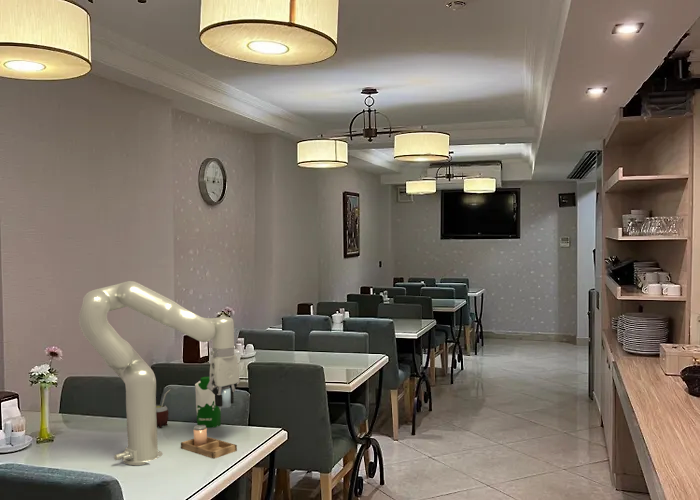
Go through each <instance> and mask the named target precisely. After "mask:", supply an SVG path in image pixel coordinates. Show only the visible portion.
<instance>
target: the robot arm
mask: <svg viewBox="0 0 700 500" xmlns="http://www.w3.org/2000/svg"><path fill="white" fill-rule="evenodd" d="M126 307H128V308H129V309H132V310H134V311H135V312H137V313H140V314H141V315H144V316H145V317H148V318H149V319H152V320H154V321H156V322H157V323H160V324H161V325H164V326H166V327H168V328H169V327H170V328H172V329H175V331H178V332H179V333H182V334H184V335H186V336H188V337H189V338H192V339H194V340H196V341H198V342H201V343H207V342H210V341H211V342H212V346H211V347H212V349H211V350H212V351H210V355H211V356H212V357H211V359H210V367H209V377H210V381H209V383H208V385H207V388H208V389H209V390H211V391H212V392H213V394H215V405H216V406H220V407H221V406H222V395H221V389H222V387H223V386H228V385H230V388H231V405H232V404H234V400H235V399H234V392H235V391H236V388H237V387H238V385H239V383H241V378H240V372H239V371H240V369H239V362H238V358H237V355H236V354H235V330H234V328H235V324H234V319H233V318H232V317H231V316H230V317H229V316H220V317H215V318H212V317H211V318H210V317H209V318H208V317H202V316H200V315H199V314H196V313H194V312H192V311H191V310H188V309H186V308H185V307H184V306H182V305H180V304H179V303H177V302H176V301H174V300H172V299H171V298H168V297H167V296H164V295H163V294H162V293H159V292H157V291H154V290H153V289H151V288H149V287H147V286H145V285H142V284H141V283H139V282H137V281H133V280H128V281H123V282H120V283H116V284H113V285H108V286H104V287H100V288H96V289H93V290H89V291H88V292H87V293H86V294H84V296H83V298H82V305H81V308H80V309H79V314H78V324H79V328H80V331H81V333H82V334H83V337H85V339H86V340H87V341H88V342H89V344H90V345H91V346H92V347H93V349H94V350H95V352H97V354H98V355H99V356H100V357H101V358H102V359H103V361H104V363H105V364H106V365H107V366H108V367H109V368H110V369H112V370H113V371H114V372H115V373H116V374H117V376H118V377H119V378H120V380H122V381H123V383H124V384H125V411H126V412H125V414H126V429H127V430H126V431H127V434H126V435H127V436H126V437H127V447H124V451H122V452H120V453H116V454H114V456H113V458H114V460H115V461H118V460H122V461H123V463H124V464H125V465H127V466H128V465H129V466H144V465H150V463H149V462H150V461H154V460H156V459H159V458H161V457H162V456H163V454H164V453H163V451H160V450H159V446H158V427H157V417H156V405H157V398H156V397H157V379H156V375H155V373H154V370H153V369H152V367H150V365H149V364H147V362H146V361H145V360H144V359H143V358H142V357H141V356H140V354H139V353H138V351H136V350H135V349H134V346H132V345H131V344H130V343H129V341H127V340H126V339H124V338H123V337H122V336H121V335H120V334H119V333H118V332H117V331H116V329H115V328H114V327H113V326H112V325H111V324H110V322H109V319H108V314H109V312H111V311H112V312H113V311H116V310H120V309H123V308H126ZM213 386H214V387H213ZM217 388H218V390H217Z"/></svg>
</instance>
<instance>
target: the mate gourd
mask: <svg viewBox="0 0 700 500" xmlns="http://www.w3.org/2000/svg"><path fill="white" fill-rule="evenodd" d="M171 390H172V389H171V388H170V389H168V390H167V391H165V393H164V394H163V397H162V398H163V399H162V402H161V404H156V417H157V428H159V429H160V430H161V429H162V428H163V427H168V426H169V425H168V422H169V413H170V412H169V408H168V407H167V406H166V405H165V404H164V403H165V400H166V397H167V394H169V392H170V391H171Z"/></svg>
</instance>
